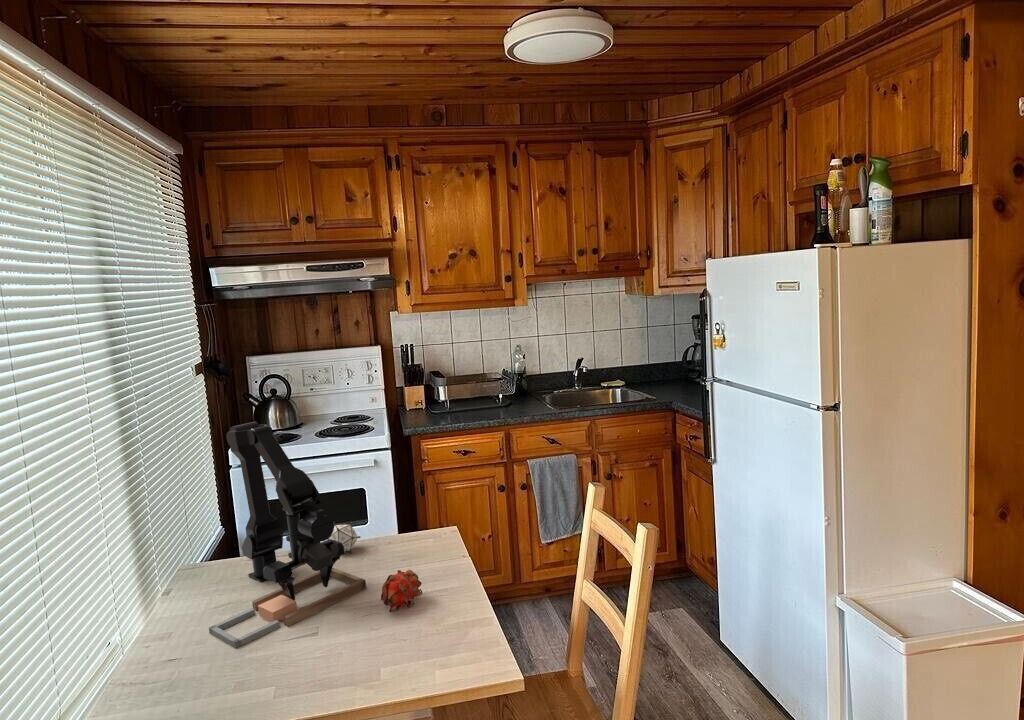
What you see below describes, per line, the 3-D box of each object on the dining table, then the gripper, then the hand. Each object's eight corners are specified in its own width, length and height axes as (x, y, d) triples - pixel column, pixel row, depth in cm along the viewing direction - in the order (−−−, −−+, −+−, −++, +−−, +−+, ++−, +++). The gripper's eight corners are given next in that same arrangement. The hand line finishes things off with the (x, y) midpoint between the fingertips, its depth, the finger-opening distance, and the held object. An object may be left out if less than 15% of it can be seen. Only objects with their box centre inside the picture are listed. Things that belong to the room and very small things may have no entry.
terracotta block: (259, 617, 161) (257, 605, 161) (283, 606, 166) (281, 594, 165) (274, 625, 157) (272, 612, 157) (297, 613, 162) (296, 601, 161)
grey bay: (209, 632, 155) (208, 627, 155) (252, 612, 163) (251, 607, 163) (235, 648, 148) (235, 642, 148) (279, 626, 155) (279, 621, 155)
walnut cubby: (253, 609, 165) (252, 601, 164) (330, 573, 181) (330, 566, 180) (287, 626, 155) (286, 618, 155) (366, 587, 171) (365, 579, 171)
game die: (352, 562, 196) (370, 529, 197) (341, 564, 188) (360, 530, 189) (325, 545, 198) (344, 513, 199) (313, 546, 190) (333, 513, 191)
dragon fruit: (421, 599, 167) (394, 631, 156) (393, 576, 168) (363, 607, 158) (435, 575, 163) (407, 607, 152) (405, 553, 164) (376, 583, 154)
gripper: (285, 552, 153) (294, 620, 155) (355, 523, 167) (362, 586, 169) (257, 542, 160) (266, 607, 162) (327, 515, 174) (334, 576, 176)
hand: (309, 594), depth 167 cm, fingers open, 9 cm apart
